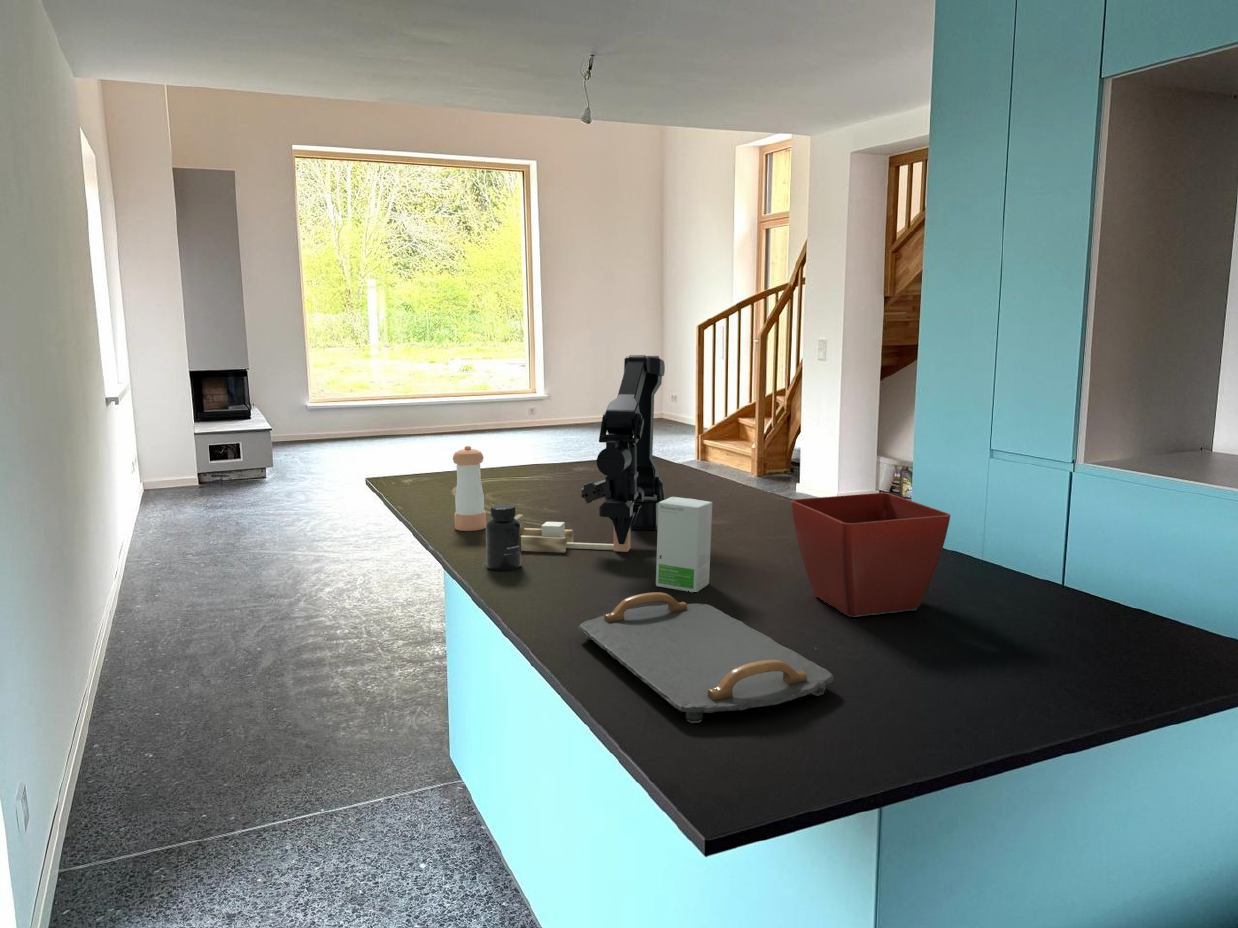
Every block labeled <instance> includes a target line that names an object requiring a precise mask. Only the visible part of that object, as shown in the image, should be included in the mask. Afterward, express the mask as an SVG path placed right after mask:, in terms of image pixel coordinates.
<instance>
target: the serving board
mask: <svg viewBox="0 0 1238 928" xmlns="http://www.w3.org/2000/svg"><path fill="white" fill-rule="evenodd" d="M651 602H667V604H661V605H647V606H640V607H634V608H632V607H633V606H636V605H640V604H645V603H651ZM578 630H579V631H581V632H582V633H583V634H584V635H585V637H586V640H588V639H589V640H588V641H590V640H593V641H592V642H594V643H595V644H597V645H598V646H599V648H601V649H603V650H604V651H606V653H608V654H609V655H610V656H611V658H613V659H615V660H616V661H617V662H619V663H620V665H622V666H624V667H625V668H626V669H627V670H628V671H629V672H631V673H632V674H633V675H634V676H635V677H637V678H638V679H639V680H641V681H642V682H643V684H646V685H647V686H648V687H649V688H650V689H652V690H653V691H654V692H655V693H657V694H658V695H659V696H660V697H662V699H663V700H665V701H667V702H668V703H669V704H670V705H671V706H673V707H674V708H675V709H677V710H678V711H679V712H682V713H683V712H685V720H686V719H687V720H690V721H699V720H702V719H703V720H704V713H705V714H706V713H707V714H712V713H713V714H714V713H716V712H732V711H745V710H749V709H755V708H761V707H770V706H776V705H780V704H784V703H786V702H789V701H793V700H796V699H798V698H799V699H800V698H802V697H805V696H808V695H811V693H813V692H817V693H819V692H824V691H825V689H826V686H827V685H830V684H831V683H832V682H833V681H834V680H835V679H834V676H833V674H832V673H831V672H830V671H829V670H827V669H826V668H824V667H822V666H820V665H818V664H817V663H816V662H814V661H811V660H809V659H808V658H806V657H804V656H803V655H801V654H800V653H798V652H796V651H794V650H793V649H790V648H788V647H786V646H784V645H782V644H779V643H778V642H777V641H775V640H774V639H772V638H771V637H770V636H767V635H766V634H765V633H763V632H761V631H758V630H756V629H754V628H752V627H750V626H748V625H747V624H746V623H744V622H743V621H742V620H738V619H736V618H735V617H731V616H730V615H729V614H727V613H724V612H723V611H722V610H720V609H718V608H716V607H714V606H712V605H710V604H708V603H705V604H704V603H686V602H685V601H681V602H679V601H677V600H676V599H675V598H674V597H672V596H671V595H669V594H668V593H665V592H655V591H654V592H646V593H639V594H635V595H632V596H629V597H626V598H624V599H623V600H622V601H621V602H619V603H618V604H617V605H616V606H615V607H614V609H613V611H611V612H609V613H605V614H603V615H600V616H597V617H594V618H593V619H588V620H585V621H583V622H582V623H580V624H579V625H578ZM825 692H826V691H825ZM687 720H686V721H687Z"/></svg>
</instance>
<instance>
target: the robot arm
mask: <svg viewBox="0 0 1238 928" xmlns="http://www.w3.org/2000/svg"><path fill="white" fill-rule="evenodd" d="M623 362H624V365H623V366H624V367H623V376H622V380H621V382H620V387H619V390H618V393H617V396H616V397H615V398H614V399H612V401H610V402H609V403H608V405H607V407H606V409H605V412H603V414H602V420H601V425H600V430H599V438H598V443H605V448H604V449H602V450H601V451H600V452H599V454H598V455H597V457H596V467H597V469H598V471H599V472H600V473H601V474H603V475H604V477H605V478H604V479H603V480H599V481H596V482H593V481H589V482H588V483H585V484H583V487H582V488H581V489H580V492H581V495H580V496H581V498H582V499H584V502H585V504H586V505H587V504H590V503H592V502H593V501H596V500H598V499H600V500H601V499H602V498H604V500H605V501H604V502H603V503H602V504H601V505H600V506H599V508H598V510H599V514H598V515H599V517H600V518H608V519H610V520H611V521H612V524H613V528H615V531H616V535H617V539H618V542H619V544H624V543H625V540H626V538H627V535H628V532H629V529H630V532H631V531H632V530H639V531H641V530H642V531H657V530H658V503H659V502H661V501H663V500H666V499H665V495H666V494H665V488H664V483H663V481H662V478H661V476H660V470H659V468H658V466H657V464H656V463H655V461H654V459H653V452H654V450H653V449H654V417H655V416H654V414H655V413H654V411H655V394H656V393H657V392H658V390H659V388H660V387H661V385H662V381H663V377H664V376H665V372H666V371H665V368H666V366H665V365H666V364H665V361H664V360H663V359H661V358H660V356H659V355H645V354H640V355H639V354H630V355H627V356H626V357H624V361H623Z"/></svg>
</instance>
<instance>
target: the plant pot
mask: <svg viewBox="0 0 1238 928" xmlns="http://www.w3.org/2000/svg"><path fill="white" fill-rule="evenodd" d="M790 503H791V511H792V512H791V513H792V518H793V523H794V529H795V533H796V534H795V535H796V539H797V543H798V547H799V552H800V555H801V558H802V563H803V566H804V569H805V572H806V575H807V577H808V582H809V584H810V587H811V590H812V592H813V595H814V597H815V596H816V597H815V598H817V597H818V598H820V599H821V600H823V601H825V602H826V603H828V604H829V605H828V604H827V605H828V606H830V605H831V606H833V607H835V608H836V609H838V610H840V611H841V612H843V613H845V614H847V615H850V616H851V615H852V616H857V615H865V614H872V613H881V612H890V611H899V610H906V609H914V608H918V607H919V608H920V606H921V604H922V602H923V600H924V598H925V596H926V594H927V591H928V589H929V588H930V587H929V586H930V584H931V582H932V579H933V577H934V575H935V573H936V572H935V571H936V569H937V567H938V565H939V561H940V558H941V555H942V552H943V548H944V544H945V540H946V537H947V533H948V530H949V524H950V520H951V514H950V513H947V512H946V511H943V510H940V509H936V508H934V507H930V506H928V505H925V504H921V503H919V502H917V501H913V500H911V499H907V498H904V497H901V496H899V495H895V494H892V493H889V492H875V493H862V494H849V495H848V494H847V495H835V496H834V495H833V496H822V497H821V496H819V497H809V498H798V499H797V498H796V499H791V501H790ZM818 598H817V599H818ZM820 599H819V600H820ZM821 600H820V601H821ZM823 601H822V602H823ZM825 602H824V603H825ZM826 603H825V604H826ZM831 606H830V607H831ZM833 607H832V608H833ZM919 608H918V609H919ZM836 609H835V610H836ZM841 612H840V613H841Z"/></svg>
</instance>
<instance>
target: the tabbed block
mask: <svg viewBox="0 0 1238 928" xmlns="http://www.w3.org/2000/svg"><path fill="white" fill-rule="evenodd" d="M565 523H566V522H564V521H546V522H544V523H543V524H541V527H540V529H541V530H542V536H550V537H565V528H566V527H565V525H566V524H565ZM612 530H613V543H595V542H594V543H592V542H573V543H572V542H566V549H576V550H577V549H580V550H603V551H604V550H606V551H607V550H608V551H613V552H621V553H622V552H623V553H624V552H625V553H627V552H629V551H630V550H631V531H630V529H629V532H628V535H627V538H626V540H625V543H624V544H619V542H618V539H617V535H616V531H615V528H614V527H613V528H612Z"/></svg>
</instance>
